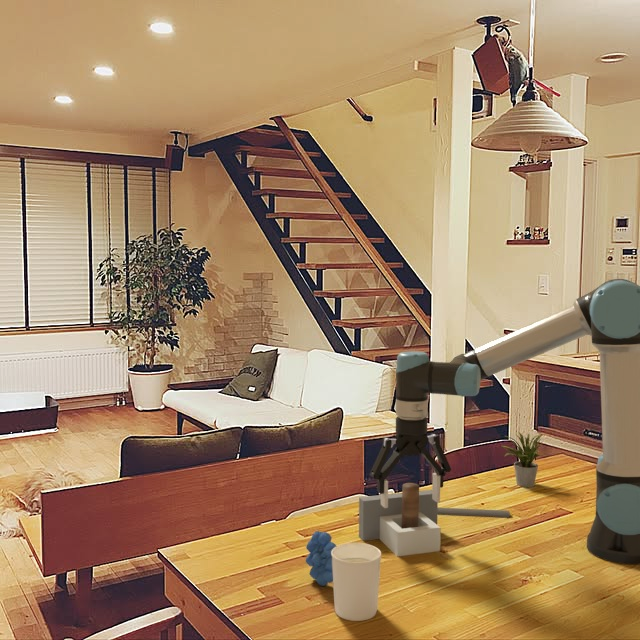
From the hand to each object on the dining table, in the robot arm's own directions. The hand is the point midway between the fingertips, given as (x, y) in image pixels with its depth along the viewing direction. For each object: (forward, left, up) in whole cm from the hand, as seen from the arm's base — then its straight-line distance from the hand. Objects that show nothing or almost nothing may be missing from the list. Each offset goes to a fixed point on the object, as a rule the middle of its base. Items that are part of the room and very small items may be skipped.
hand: (410, 503), depth 179 cm
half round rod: (+14, -25, -11) cm, 31 cm away
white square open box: (0, 0, -10) cm, 11 cm away
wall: (+7, 0, -10) cm, 12 cm away
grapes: (-14, +26, -10) cm, 32 cm away
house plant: (+34, -54, -10) cm, 64 cm away
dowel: (0, 0, -10) cm, 10 cm away
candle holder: (-28, +24, -10) cm, 38 cm away
